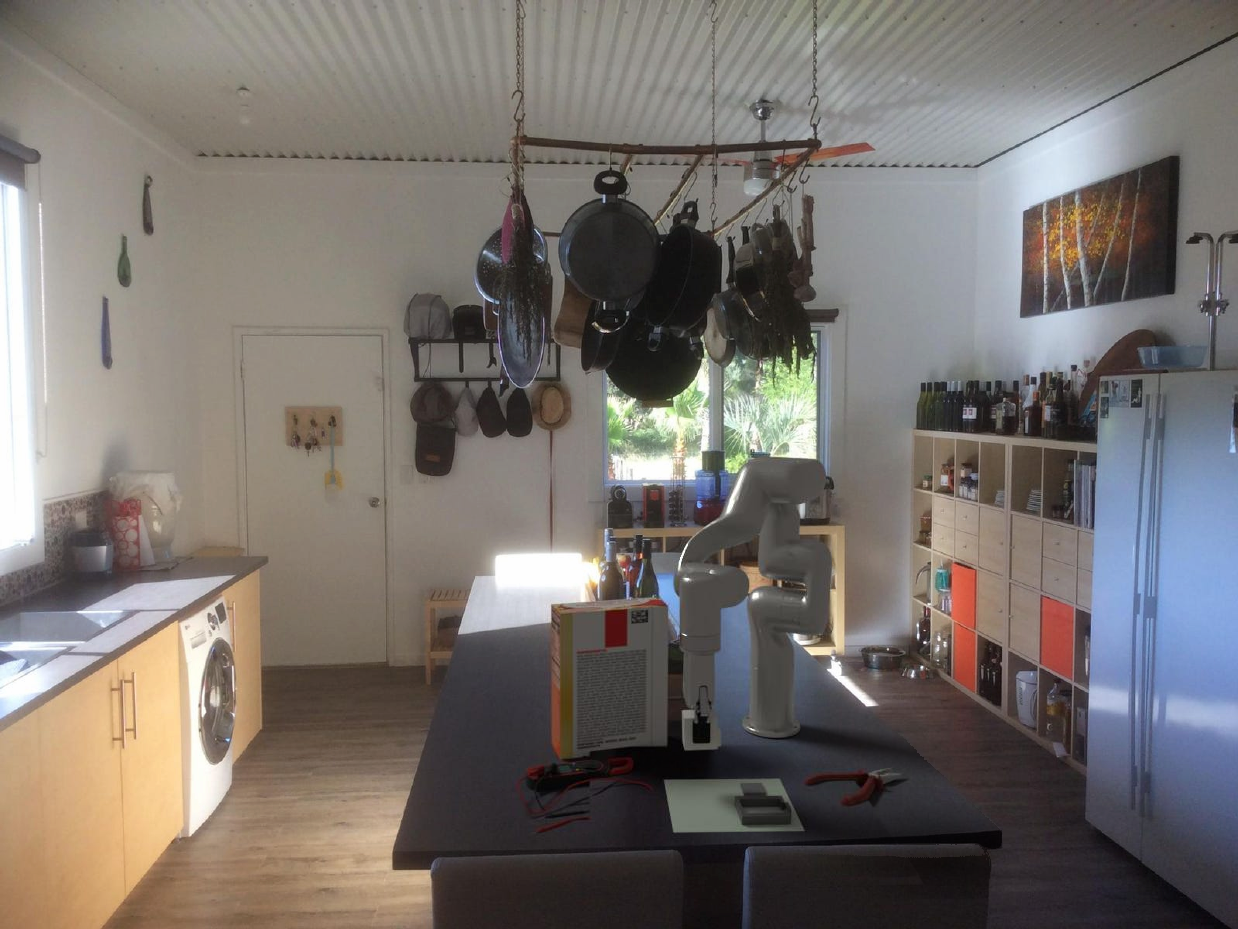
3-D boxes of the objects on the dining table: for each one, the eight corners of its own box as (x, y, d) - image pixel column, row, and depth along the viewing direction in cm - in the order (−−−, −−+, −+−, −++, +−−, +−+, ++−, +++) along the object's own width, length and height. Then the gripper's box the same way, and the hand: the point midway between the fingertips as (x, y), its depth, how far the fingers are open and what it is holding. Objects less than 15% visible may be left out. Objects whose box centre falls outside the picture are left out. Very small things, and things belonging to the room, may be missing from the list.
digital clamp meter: (506, 757, 171) (630, 743, 178) (506, 780, 171) (630, 765, 178) (528, 812, 149) (669, 793, 156) (529, 838, 149) (669, 818, 156)
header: (734, 804, 158) (734, 796, 158) (784, 803, 158) (785, 795, 158) (741, 825, 151) (741, 816, 150) (794, 824, 151) (794, 816, 151)
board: (663, 785, 168) (663, 776, 168) (779, 783, 169) (779, 775, 169) (673, 838, 148) (673, 828, 148) (804, 836, 149) (804, 827, 149)
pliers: (922, 788, 168) (922, 775, 168) (845, 815, 157) (846, 800, 157) (875, 767, 178) (876, 754, 178) (800, 790, 167) (800, 777, 167)
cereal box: (654, 732, 194) (655, 597, 191) (667, 746, 186) (668, 605, 184) (551, 744, 187) (551, 604, 185) (560, 759, 179) (560, 613, 177)
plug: (682, 741, 166) (682, 710, 165) (718, 740, 166) (718, 709, 165) (684, 750, 162) (684, 718, 161) (721, 749, 162) (721, 717, 161)
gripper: (675, 628, 170) (675, 720, 172) (684, 655, 154) (684, 757, 155) (714, 627, 170) (714, 720, 172) (727, 655, 154) (726, 757, 156)
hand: (699, 736), depth 164 cm, fingers closed on plug, 3 cm apart
